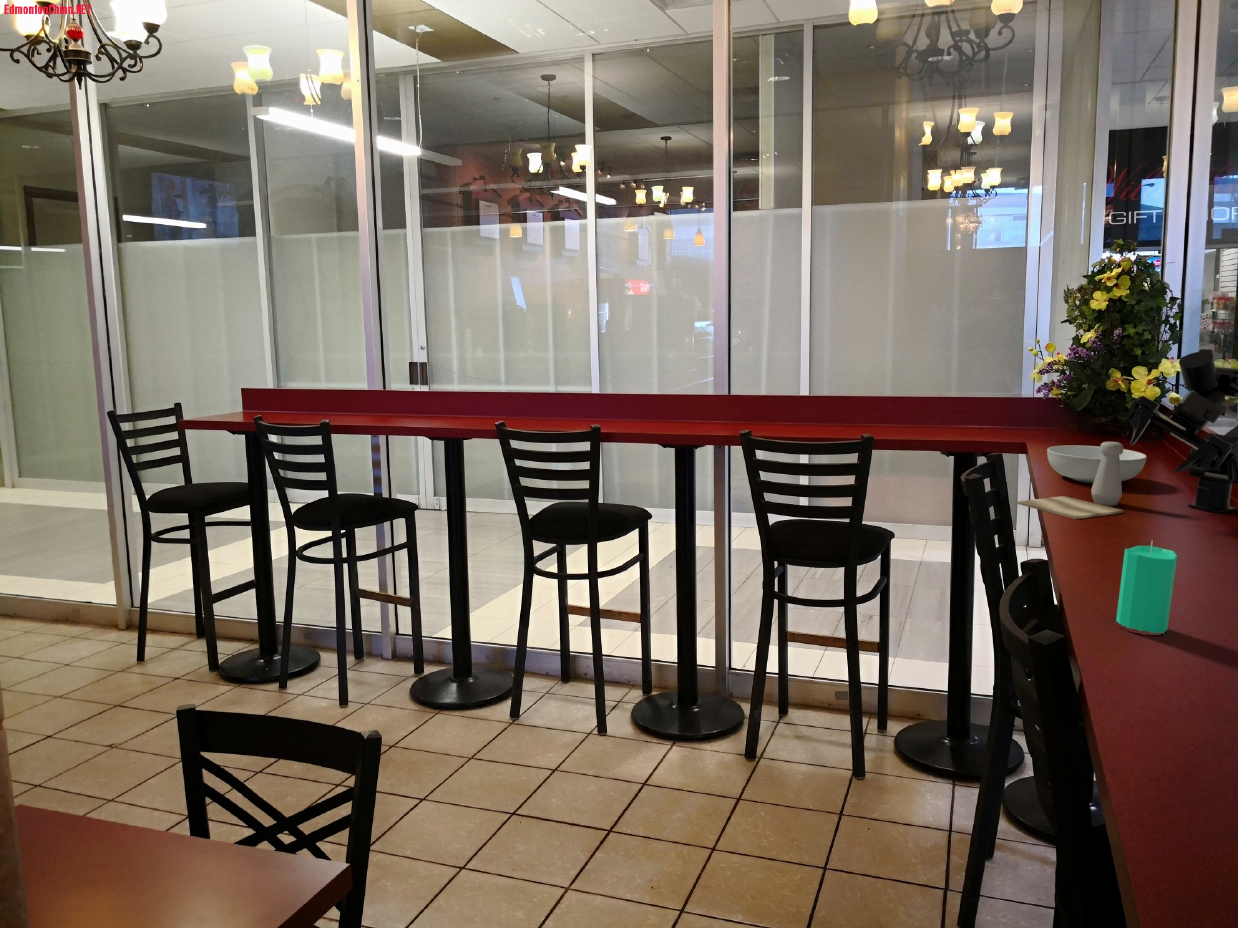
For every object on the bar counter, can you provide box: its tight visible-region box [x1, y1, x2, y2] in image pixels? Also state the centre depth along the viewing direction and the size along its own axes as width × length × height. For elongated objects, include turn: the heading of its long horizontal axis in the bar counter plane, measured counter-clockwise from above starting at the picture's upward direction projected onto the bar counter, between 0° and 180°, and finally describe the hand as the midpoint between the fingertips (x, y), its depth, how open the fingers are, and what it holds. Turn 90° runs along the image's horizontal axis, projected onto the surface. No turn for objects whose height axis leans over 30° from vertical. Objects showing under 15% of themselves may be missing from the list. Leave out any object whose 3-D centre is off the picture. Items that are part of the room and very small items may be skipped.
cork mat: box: [1016, 495, 1124, 520], centre depth 197 cm, size 14×14×1 cm
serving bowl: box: [1046, 445, 1147, 484], centre depth 226 cm, size 21×21×7 cm
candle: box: [1115, 539, 1178, 633], centre depth 127 cm, size 6×6×12 cm
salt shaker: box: [1090, 441, 1124, 507], centre depth 200 cm, size 6×6×13 cm
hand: (1153, 457), depth 185 cm, fingers open, 9 cm apart
